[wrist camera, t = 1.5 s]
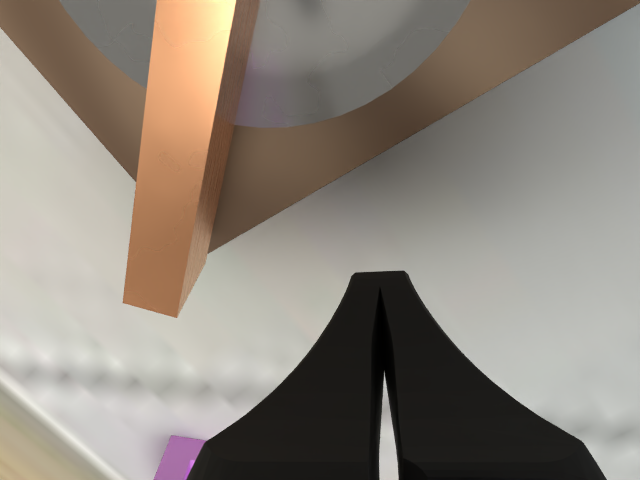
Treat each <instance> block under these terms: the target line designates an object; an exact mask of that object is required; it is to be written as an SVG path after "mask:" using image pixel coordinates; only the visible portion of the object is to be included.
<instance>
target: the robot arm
mask: <svg viewBox="0 0 640 480" xmlns="http://www.w3.org/2000/svg"><path fill="white" fill-rule="evenodd" d="M384 371H385V378H386V385H387V391H388V398H389V404H390V411H391V417H392V424H393V430H394V437H395V444H396V451H397V460H398V474H399V480H607V479H606V478H605V476H604V474H603V473H602V471H601V469H600V468H599V466H598V465H597V463H596V461H595V460H594V458H593V457H592V455H591V454H590V452H589V451H588V449H587V448H586V446H585V445H584V443H583V442H582V441H581V440H579V439H577V438H575V437H574V436H572V435H570V434H569V433H567V432H565V431H564V430H562V429H560V428H558V427H557V426H555V425H553V424H552V423H550V422H548V421H546V420H545V419H543V418H541V417H540V416H538V415H537V414H535V413H534V412H532V411H531V410H529V409H528V408H527V407H525V406H524V405H522V404H521V403H519V402H518V401H516V400H515V399H514V398H513V397H511V396H510V395H509V394H507V393H506V392H505V391H504V390H502V389H501V388H500V387H499V386H497V385H496V384H495V383H494V382H492V381H491V380H490V379H489V378H488V377H487V376H486V375H485V374H483V373H482V372H481V371H480V370H479V369H478V368H477V367H476V366H475V365H474V364H473V363H472V362H471V361H470V360H469V359H468V358H467V357H466V356H465V355H464V354H463V353H462V352H461V351H460V350H459V349H458V348H457V347H456V345H455V344H454V343H453V342H452V341H451V340H450V338H449V337H448V336H447V335H446V334H445V332H444V331H443V330H442V329H441V327H440V326H439V325H438V323H437V322H436V321H435V319H434V318H433V317H432V315H431V314H430V312H429V311H428V309H427V308H426V307H425V305H424V303H423V302H422V300H421V299H420V297H419V295H418V294H417V292H416V290H415V288H414V286H413V285H412V282H411V280H410V278H409V275H408V274H407V273H406V272H405V271H383V272H358V273H354V274H353V275H352V276H351V279H350V282H349V285H348V287H347V290H346V292H345V294H344V296H343V298H342V300H341V302H340V304H339V306H338V308H337V310H336V311H335V313H334V315H333V317H332V319H331V320H330V322H329V324H328V325H327V327H326V328H325V330H324V331H323V333H322V334H321V336H320V337H319V339H318V340H317V342H316V343H315V344H314V346H313V347H312V348H311V350H310V351H309V352H308V354H307V355H306V356H305V357H304V359H303V360H302V361H301V362H300V363H299V364H298V366H297V367H296V368H295V369H294V370H293V371H292V372H291V373H290V374H289V375H288V376H287V378H286V379H285V380H284V381H283V382H282V383H281V384H280V385H279V386H278V387H277V388H276V389H275V390H274V391H273V392H272V393H271V394H269V395H268V396H267V397H266V398H265V399H264V400H262V401H261V402H260V403H259V404H258V405H257V406H255V407H254V408H253V409H252V410H251V411H249V412H248V413H247V414H246V415H244V416H243V417H242V418H240V419H239V420H238V421H236V422H235V423H233V424H232V425H230V426H229V427H227V428H226V429H224V430H223V431H222V432H220V433H219V434H217V435H216V436H214V437H213V438H211V439H209V440H208V441H206V442H205V443H204V444H203V446H202V448H201V450H200V452H199V454H198V456H197V458H196V460H195V462H194V464H193V466H192V468H191V470H190V473H189V475H188V477H187V479H186V480H379V444H380V429H381V413H382V397H383V381H384Z"/></svg>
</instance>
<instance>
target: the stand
mask: <svg viewBox="0 0 640 480" xmlns="http://www.w3.org/2000/svg"><path fill="white" fill-rule="evenodd" d="M639 3H640V0H470V2H469V4H468V5H467V7H466V9H465V10H464V12H463V13H462V15H461V17H460V18H459V20H458V22H457V23H456V24H455V26H454V27H453V28H452V29H451V31H450V32H449V33H448V35H447V36H446V37H445V38H444V40H443V41H442V42H441V43H440V45H439V46H438V47H437V48H436V50H435V51H434V52H433V53H432V54H431V55H430V56H429V57H428V58H427V59H426V60H425V61H424V62H423V63H422V64H421V65H420V66H419V67H418V68H417V69H416V70H415V71H414V72H412V73H411V74H410V75H409V76H407V77H406V78H405V79H403V80H402V81H401V82H400V83H398V84H397V85H396V86H394V87H393V88H392V89H391V90H389V91H387V92H386V93H384V94H382V95H381V96H379V97H377V98H376V99H374V100H372V101H371V102H369V103H367V104H366V105H364V106H361V107H359V108H357V109H354V110H352V111H350V112H347V113H345V114H343V115H340V116H337V117H334V118H330V119H327V120H323V121H320V122H316V123H313V124H306V125H299V126H292V127H277V128H258V127H249V126H240V125H234V129H233V134H232V138H231V143H230V148H229V153H228V158H227V162H226V167H225V172H224V177H223V181H222V186H221V191H220V196H219V201H218V205H217V210H216V215H215V220H214V224H213V229H212V234H211V239H210V244H209V248H208V253H210V252H212V251H213V250H215V249H217V248H218V247H220V246H222V245H224V244H225V243H227V242H229V241H231V240H232V239H234V238H236V237H237V236H239V235H241V234H243V233H244V232H246V231H248V230H250V229H251V228H253V227H255V226H256V225H258V224H260V223H262V222H263V221H265V220H267V219H268V218H270V217H272V216H274V215H275V214H277V213H279V212H281V211H282V210H284V209H286V208H287V207H289V206H291V205H293V204H294V203H296V202H298V201H300V200H301V199H303V198H305V197H306V196H308V195H310V194H312V193H313V192H315V191H317V190H318V189H320V188H322V187H324V186H325V185H327V184H329V183H331V182H332V181H334V180H336V179H337V178H339V177H341V176H343V175H344V174H346V173H348V172H349V171H351V170H353V169H355V168H356V167H358V166H360V165H362V164H363V163H365V162H367V161H368V160H370V159H372V158H374V157H375V156H377V155H379V154H381V153H382V152H384V151H386V150H387V149H389V148H391V147H393V146H394V145H396V144H398V143H399V142H401V141H403V140H405V139H406V138H408V137H410V136H412V135H413V134H415V133H417V132H418V131H420V130H422V129H424V128H425V127H427V126H429V125H431V124H432V123H434V122H436V121H437V120H439V119H441V118H443V117H444V116H446V115H448V114H449V113H451V112H453V111H455V110H456V109H458V108H460V107H462V106H463V105H465V104H467V103H468V102H470V101H472V100H474V99H475V98H477V97H479V96H480V95H482V94H484V93H486V92H487V91H489V90H491V89H493V88H494V87H496V86H498V85H499V84H501V83H503V82H505V81H506V80H508V79H510V78H512V77H513V76H515V75H517V74H518V73H520V72H522V71H524V70H525V69H527V68H529V67H530V66H532V65H534V64H536V63H537V62H539V61H541V60H543V59H544V58H546V57H548V56H549V55H551V54H553V53H555V52H556V51H558V50H560V49H562V48H563V47H565V46H567V45H568V44H570V43H572V42H574V41H575V40H577V39H579V38H580V37H582V36H584V35H586V34H587V33H589V32H591V31H593V30H594V29H596V28H598V27H599V26H601V25H603V24H605V23H606V22H608V21H610V20H611V19H613V18H615V17H617V16H618V15H620V14H622V13H624V12H625V11H627V10H629V9H630V8H632V7H634V6H636V5H637V4H639ZM0 27H1V29H2V30H3V31H4V32H5V33H6V34H7V35H8V37H9V38H10V39H11V40H12V41H13V42H14V43H15V45H16V46H17V47H18V48H19V49H20V50H21V51H22V53H23V54H24V55H25V56H26V57H27V58H28V59H29V61H30V62H31V63H32V64H33V65H34V66H35V67H36V69H37V70H38V71H39V72H40V73H41V74H42V75H43V77H44V78H45V79H46V80H47V81H48V82H49V83H50V85H51V86H52V87H53V88H54V89H55V90H56V91H57V93H58V94H59V95H60V96H61V97H62V98H63V99H64V101H65V102H66V103H67V104H68V105H69V106H70V107H71V109H72V110H73V111H74V112H75V113H76V114H77V115H78V117H79V118H80V119H81V120H82V121H83V122H84V123H85V125H86V126H87V127H88V128H89V129H90V130H91V131H92V133H93V134H94V135H95V136H96V137H97V138H98V139H99V141H100V142H101V143H102V144H103V145H104V146H105V147H106V149H107V150H108V151H109V152H110V153H111V154H112V155H113V157H114V158H115V159H116V160H117V161H118V162H119V163H120V165H121V166H122V167H123V168H124V169H125V170H126V171H127V173H128V174H129V175H130V176H131V177H132V178H133V179H134V180H135V182H136V181H137V172H138V163H139V154H140V145H141V137H142V128H143V119H144V110H145V101H146V92H147V89H146V88H144V87H143V86H141V85H140V84H138V83H137V82H135V81H134V80H132V79H131V78H130V77H129V76H127V75H126V74H125V73H124V72H123V71H121V70H120V69H119V68H118V67H117V66H115V65H114V64H113V63H112V62H111V61H110V60H108V59H107V58H106V57H105V56H104V55H103V53H102V52H101V51H100V50H99V49H98V48H97V47H96V46H95V45H94V44H93V43H92V42H91V41H90V40H89V39H88V38H87V37H86V36H85V34H84V33H83V32H82V31H81V29H80V28H79V27H78V26H77V24H76V23H75V22H74V20H73V19H72V18H71V17H70V15H69V14H68V13H67V12H66V10H65V9H64V7H63V6H62V4H61V3H60V1H59V0H0ZM208 253H207V254H208Z"/></svg>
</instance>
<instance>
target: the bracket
mask: <svg viewBox="0 0 640 480" xmlns="http://www.w3.org/2000/svg"><path fill="white" fill-rule="evenodd" d="M205 442H206V441H204V440H198V439H191V438H185V437H179V436H172V435H171V438H170V440H169V443H168V445H167V448H166V450H165V453H164V455H163V458H162V460H161V463H160V465H159V467H158V470H157V472H156V475H155V477H154V480H186V479H187V477H188V475H189V473H190V470H191V468H192V466H193V464H194V462H195V460H196V458H197V456H198V454H199V452H200V450H201V448H202V446H203V444H204V443H205Z"/></svg>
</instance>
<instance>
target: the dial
mask: <svg viewBox="0 0 640 480" xmlns="http://www.w3.org/2000/svg"><path fill="white" fill-rule="evenodd" d="M59 1H60V3H61V4H62V6H63V7H64V9H65V10H66V12H67V13H68V14H69V15H70V17H71V18H72V19H73V20H74V22H75V23H76V24H77V26H78V27H79V28H80V29H81V31H82V32H83V33H84V34H85V36H86V37H87V38H88V39H89V40H90V41H91V42H92V43H93V44H94V45H95V46H96V47H97V48H98V49H99V50H100V51H101V52H102V53H103V55H104V56H105V57H106V58H107V59H108V60H110V61H111V62H112V63H113V64H114V65H115V66H117V67H118V68H119V69H120V70H121V71H123V72H124V73H125V74H126V75H127V76H129V77H130V78H131V79H132V80H134V81H135V82H137V83H138V84H140V85H141V86H143V87H144V88H146V89H147V92H146V101H145V110H144V119H143V128H142V137H141V145H140V154H139V163H138V172H137V181H136V190H135V199H134V208H133V216H132V225H131V234H130V243H129V252H128V261H127V270H126V279H125V287H124V296H123V303H125V304H129V305H132V306H136V307H139V308H143V309H147V310H150V311H154V312H157V313H161V314H165V315H168V316H172V317H175V318H177V317H178V315H179V313H180V311H181V309H182V307H183V305H184V303H185V301H186V299H187V297H188V295H189V294H190V292H191V290H192V288H193V286H194V284H195V282H196V280H197V278H198V276H199V274H200V272H201V270H202V269H203V267H204V265H205V263H206V258H207V253H208V248H209V244H210V239H211V234H212V229H213V224H214V220H215V215H216V210H217V205H218V201H219V196H220V191H221V186H222V181H223V177H224V172H225V167H226V162H227V158H228V153H229V148H230V143H231V138H232V134H233V129H234V125H240V126H249V127H258V128H277V127H292V126H299V125H306V124H313V123H316V122H320V121H323V120H327V119H330V118H334V117H337V116H340V115H343V114H345V113H347V112H350V111H352V110H354V109H357V108H359V107H361V106H364V105H366V104H367V103H369V102H371V101H372V100H374V99H376V98H377V97H379V96H381V95H382V94H384V93H386V92H387V91H389V90H391V89H392V88H393V87H394V86H396V85H397V84H398V83H400V82H401V81H402V80H403V79H405V78H406V77H407V76H409V75H410V74H411V73H412V72H414V71H415V70H416V69H417V68H418V67H419V66H420V65H421V64H422V63H423V62H424V61H425V60H426V59H427V58H428V57H429V56H430V55H431V54H432V53H433V52H434V51H435V50H436V48H437V47H438V46H439V45H440V43H441V42H442V41H443V40H444V38H445V37H446V36H447V35H448V33H449V32H450V31H451V29H452V28H453V27H454V26H455V24H456V23H457V22H458V20H459V18H460V17H461V15H462V13H463V12H464V10H465V9H466V7H467V5H468V4H469V2H470V0H59Z"/></svg>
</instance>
